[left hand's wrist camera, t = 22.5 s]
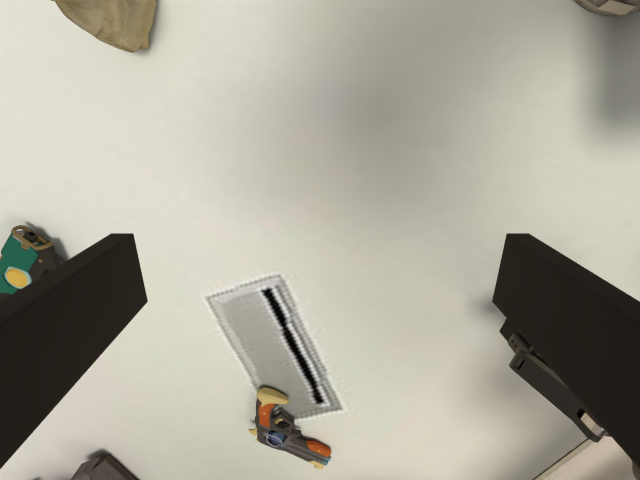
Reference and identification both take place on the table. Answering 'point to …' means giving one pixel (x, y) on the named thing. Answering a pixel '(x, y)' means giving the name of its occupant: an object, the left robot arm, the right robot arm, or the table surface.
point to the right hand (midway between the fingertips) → (551, 335)
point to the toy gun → (284, 430)
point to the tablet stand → (593, 463)
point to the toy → (102, 470)
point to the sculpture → (113, 20)
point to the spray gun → (24, 260)
